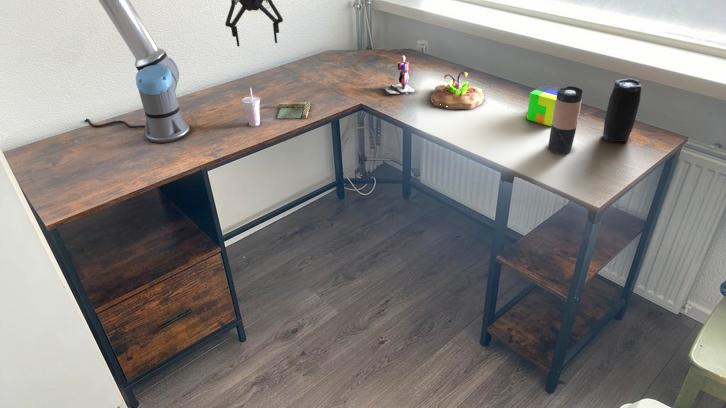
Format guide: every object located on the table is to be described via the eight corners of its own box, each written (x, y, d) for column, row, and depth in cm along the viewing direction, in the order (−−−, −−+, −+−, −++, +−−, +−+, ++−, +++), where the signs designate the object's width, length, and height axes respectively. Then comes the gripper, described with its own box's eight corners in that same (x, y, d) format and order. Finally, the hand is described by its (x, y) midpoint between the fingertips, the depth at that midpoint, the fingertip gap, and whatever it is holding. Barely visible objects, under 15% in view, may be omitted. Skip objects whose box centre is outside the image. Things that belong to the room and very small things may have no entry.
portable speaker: (595, 138, 184) (608, 82, 173) (611, 129, 189) (624, 75, 178) (619, 147, 179) (634, 90, 168) (634, 138, 184) (649, 82, 173)
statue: (405, 87, 229) (409, 51, 222) (414, 95, 222) (419, 58, 214) (381, 89, 225) (384, 52, 218) (389, 96, 218) (393, 59, 210)
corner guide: (274, 118, 205) (274, 115, 205) (279, 106, 215) (279, 102, 214) (306, 118, 205) (306, 114, 204) (310, 105, 214) (310, 102, 213)
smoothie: (259, 128, 199) (254, 92, 191) (243, 127, 200) (236, 91, 192) (265, 120, 204) (260, 85, 196) (249, 119, 205) (243, 84, 198)
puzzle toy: (565, 117, 198) (570, 91, 193) (552, 126, 192) (557, 100, 187) (540, 110, 204) (544, 84, 199) (526, 119, 198) (530, 93, 193)
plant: (478, 112, 204) (481, 83, 198) (426, 106, 210) (427, 78, 203) (486, 92, 220) (489, 64, 214) (438, 87, 225) (439, 60, 219)
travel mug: (568, 156, 175) (580, 97, 164) (544, 150, 178) (554, 92, 167) (574, 146, 180) (586, 88, 169) (551, 141, 184) (561, 84, 172)
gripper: (211, -13, 184) (222, 49, 195) (286, -19, 187) (292, 43, 199) (212, -18, 190) (222, 43, 201) (284, -23, 193) (290, 37, 205)
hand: (257, 43), depth 200 cm, fingers open, 13 cm apart
